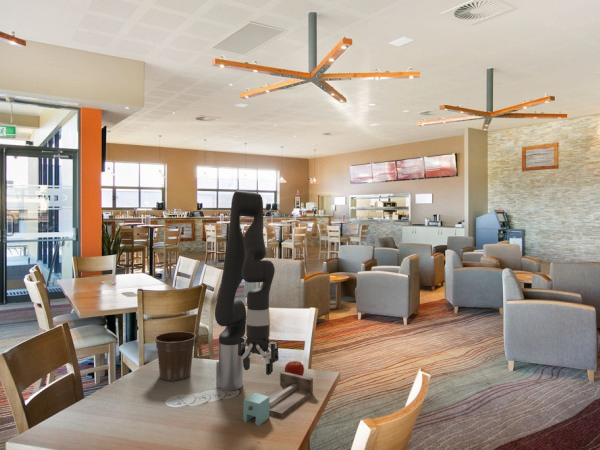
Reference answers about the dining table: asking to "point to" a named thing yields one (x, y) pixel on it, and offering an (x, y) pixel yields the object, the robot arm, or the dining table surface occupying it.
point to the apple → (295, 368)
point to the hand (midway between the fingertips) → (257, 371)
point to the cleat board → (289, 393)
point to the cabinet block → (256, 408)
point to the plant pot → (175, 354)
